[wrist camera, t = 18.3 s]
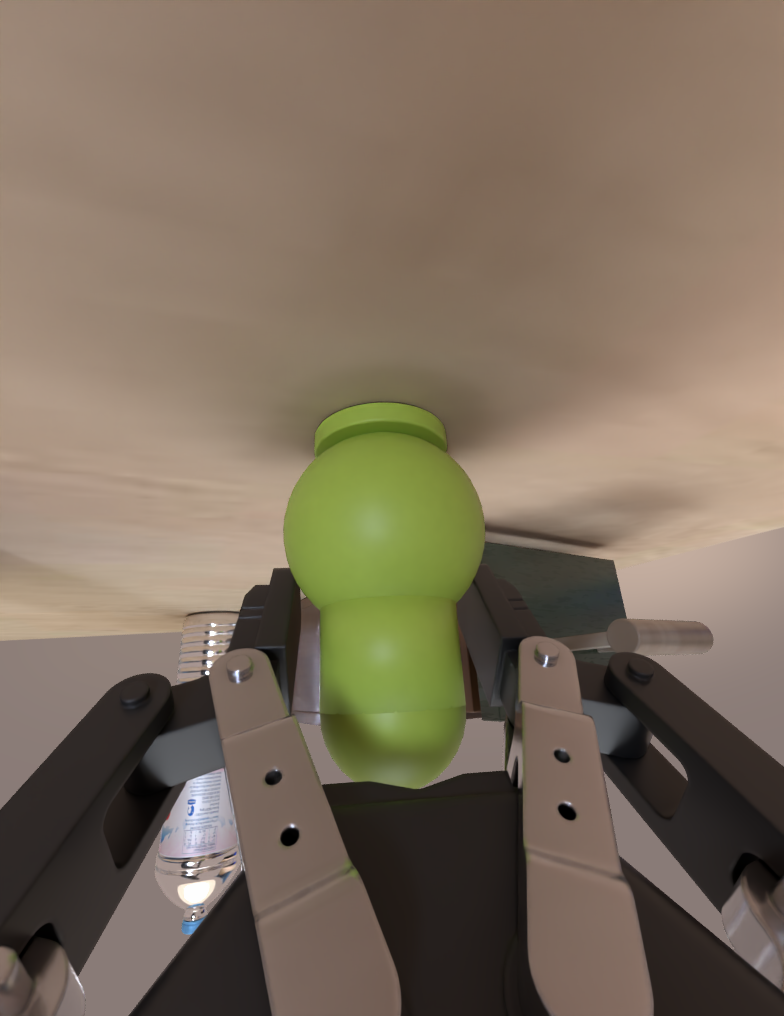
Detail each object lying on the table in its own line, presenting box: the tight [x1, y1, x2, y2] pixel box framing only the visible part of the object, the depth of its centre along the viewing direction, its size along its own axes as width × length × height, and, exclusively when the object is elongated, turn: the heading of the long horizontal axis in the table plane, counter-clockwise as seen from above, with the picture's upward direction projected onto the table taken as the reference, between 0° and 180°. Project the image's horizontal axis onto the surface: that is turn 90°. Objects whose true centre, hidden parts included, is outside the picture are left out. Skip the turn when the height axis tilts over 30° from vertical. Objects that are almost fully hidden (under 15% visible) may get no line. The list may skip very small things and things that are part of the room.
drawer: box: [456, 542, 713, 722], centre depth 27 cm, size 20×10×8 cm, turn 149°
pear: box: [283, 402, 485, 789], centre depth 12 cm, size 6×6×11 cm
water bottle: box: [155, 612, 240, 934], centre depth 41 cm, size 7×7×25 cm
